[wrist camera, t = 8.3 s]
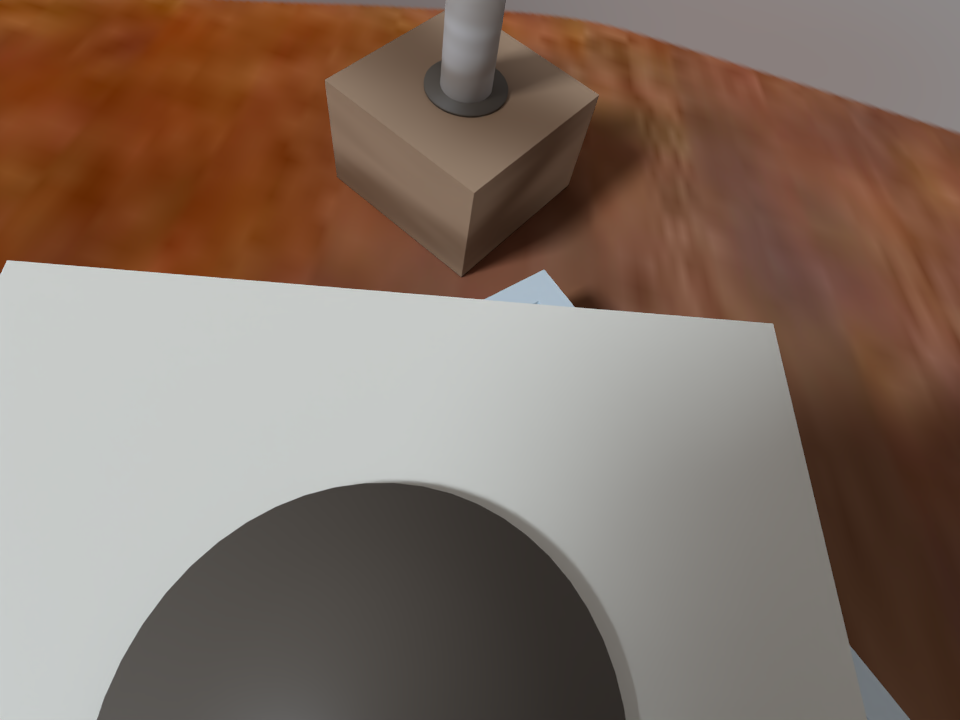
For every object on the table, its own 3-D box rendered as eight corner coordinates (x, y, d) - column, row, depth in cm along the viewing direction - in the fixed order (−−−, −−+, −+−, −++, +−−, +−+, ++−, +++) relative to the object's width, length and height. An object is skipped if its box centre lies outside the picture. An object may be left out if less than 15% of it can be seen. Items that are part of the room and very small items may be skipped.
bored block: (506, 835, 12) (1135, 1759, 2) (255, 835, 12) (-896, 2066, 1) (507, 578, 15) (781, 315, 4) (297, 570, 14) (-3, 249, 4)
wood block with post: (461, 276, 20) (493, 64, 13) (337, 176, 22) (306, -64, 15) (568, 185, 23) (643, -35, 16) (450, 100, 24) (471, -137, 17)
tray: (111, 1500, 9) (19, 1758, 7) (-106, 648, 14) (-202, 643, 12) (848, 726, 15) (922, 735, 13) (528, 314, 20) (544, 269, 18)
